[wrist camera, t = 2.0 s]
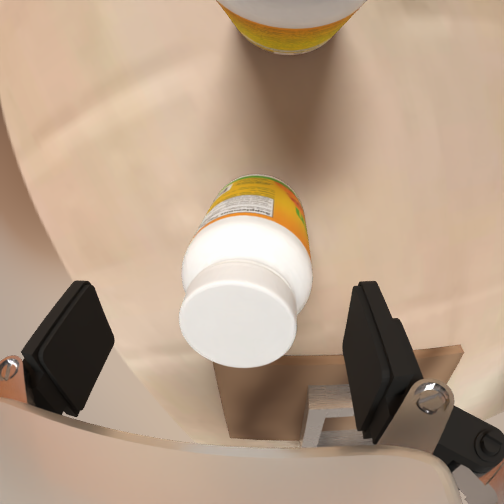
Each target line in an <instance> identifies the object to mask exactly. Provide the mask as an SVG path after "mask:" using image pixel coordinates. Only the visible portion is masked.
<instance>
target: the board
mask: <svg viewBox="0 0 504 504" xmlns="http://www.w3.org/2000/svg"><path fill="white" fill-rule="evenodd" d="M413 352H414V354H415V357H416V360H417V362H418V365H419V367H420V370H421V373H422V375H423V378H424V379H425V378H434V379H437V380H440V381H442V382H444V383H445V384H447V382H448V380H449V379H450V377H451V375H452V373H453V372H454V370H455V368H456V366H457V365H458V363H459V361H460V359H461V357H462V355H463V354H464V351H463V349H462V347H461V345H455V346H447V347H439V348H431V349H422V350H413ZM213 365H214V370H215V375H216V379H217V384H218V388H219V393H220V397H221V402H222V406H223V410H224V415H225V419H226V423H227V427H228V431H229V435H230V438H238V439H254V440H291V441H295V440H300V434H301V428H302V422H303V416H304V410H305V404H306V398H307V391H308V385H341V384H349V382H348V376H347V371H346V366H345V361H344V356H343V355H327V356H281V357H280V358H279V359H277V360H275V361H273V362H271V363H269V364H266V365H263V366H259V367H252V368H236V367H229V366H224V365H221V364H218V363H215V362H213ZM352 429H357V428H356V422H355V416H349V417H331V418H325V420H324V424H323V427H322V431H338V430H352Z"/></svg>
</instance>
